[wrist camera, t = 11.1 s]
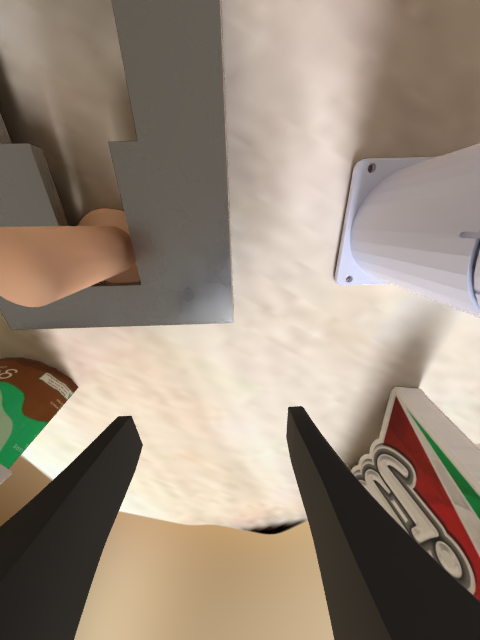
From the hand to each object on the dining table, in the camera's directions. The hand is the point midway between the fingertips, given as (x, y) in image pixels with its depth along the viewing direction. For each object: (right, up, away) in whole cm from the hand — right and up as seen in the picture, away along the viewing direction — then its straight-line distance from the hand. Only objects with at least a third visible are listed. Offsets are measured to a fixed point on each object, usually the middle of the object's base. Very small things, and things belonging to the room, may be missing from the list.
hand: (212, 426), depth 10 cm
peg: (-7, +10, +5) cm, 14 cm away
